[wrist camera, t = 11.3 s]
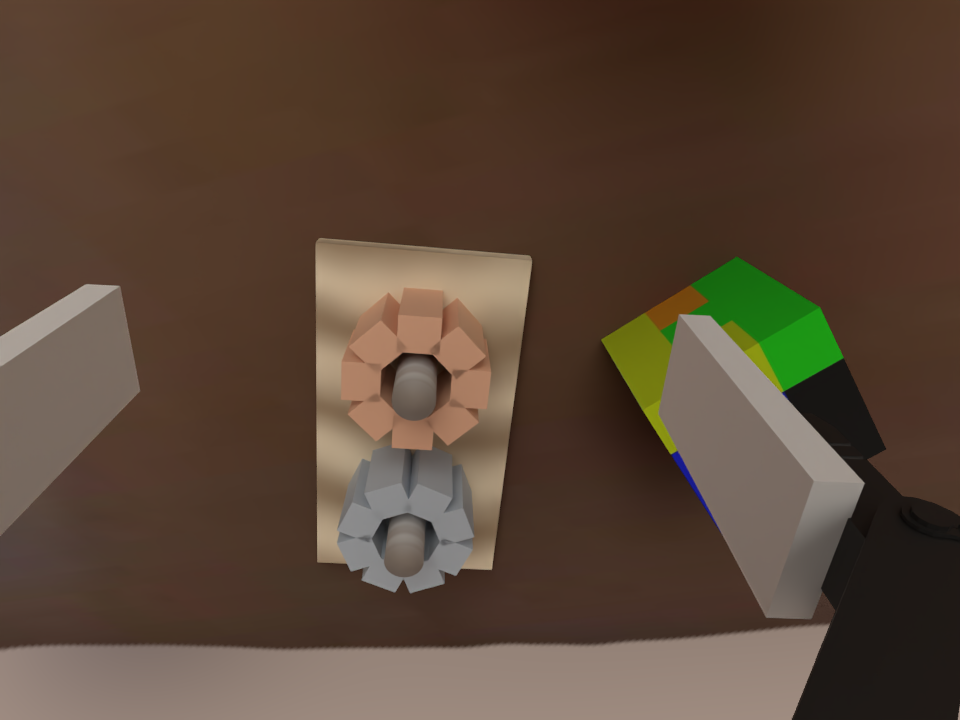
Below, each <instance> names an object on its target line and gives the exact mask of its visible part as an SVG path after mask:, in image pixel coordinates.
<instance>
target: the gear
mask: <svg viewBox="0 0 960 720" xmlns="http://www.w3.org/2000/svg"><path fill="white" fill-rule="evenodd" d="M407 512H408V513H410V514H413V515H415V516H418V517H420V518H423V519H425V520H426V526H425V546H424V564H423V567H422V569H421V570H420V571H419V572H418V573H417V574H415V575H413V576H410V577H398V576H395V575H393V574H391V573H390V572H389V571H388V570H387V569H386V567H385V565H384V558H385V550H386V543H387V535H388V527H389V520H390V517H393V516H397V515H400V514H404V513H407ZM337 531H339V537H338V541H337V545H338V547H339V549H340V551H341V553H342V555H343V557H344V559H345V561H346V563H347V565H348V567H349V569H350V571H354V570H358V569H361V568H364V569H363V575H362V581H365V582H368V583H370V584H373V585H376V586H379V587H381V588H384V589H387V590H390V591H392V592H396V590H397V588H398V587H399V585H400V584H401V582H402V580H403V579H404V581H405V583H406V585H407V587H408V590H409V592H410V593H412V592H416V591H420V590H423V589H427V588H431V587H434V586H438V585H442V584H444V582H445V572H447V573H450V574H452V575H455V576H456V575H457V574H458V572H459V570H460V569H461V567H462V566H463V564H464V563H465V561H466V560H467V558H468V557H469V555H470V553H471V552H472V550H473V541H472V538H473V537H474V522H473V505H472V491H471V488H470V485H469V483H468V480H467V477H466V475H465V472H464V469H463V467H462V464H460V465H456V466H453V467H452V455H451V454H449V453H447V452H444V451H442V450H440V449H437V448H435V447H433V446H432V450H418V449H416V451H415V453H414V454H413V456H412V454H411V451H410V449H401V448H392V445H389V446H386V447H382V448H379V449H375V450H373V452H372V457H371V462H370V461H367V460H365V459H362V460H361V462H360V464H359V466H358V467H357V469H356V471H355V473H354V475H353V477H352V479H351V481H350V482H349V484H348V488H347V492H346V496H345V500H344V504H343V508H342V512H341V516H340V520H339V524H338V529H337Z"/></svg>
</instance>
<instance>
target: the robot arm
mask: <svg viewBox="0 0 960 720" xmlns="http://www.w3.org/2000/svg"><path fill="white" fill-rule="evenodd" d="M139 391H140V388H139V383H138V377H137V372H136V367H135V362H134V356H133V351H132V346H131V341H130V336H129V330H128V325H127V320H126V315H125V310H124V304H123V299H122V294H121V289H120V286H110V285H91V284H86V285H84V286H82V287H81V288H79V289H78V290H76V291H74V292H73V293H71V294H69V295H68V296H66V297H64V298H63V299H61V300H60V301H58V302H56V303H55V304H53V305H51V306H50V307H48V308H46V309H45V310H43V311H41V312H40V313H38V314H37V315H35V316H33V317H32V318H30V319H28V320H27V321H25V322H23V323H22V324H20V325H19V326H17V327H15V328H14V329H12V330H10V331H9V332H7V333H5V334H4V335H2V336H1V337H0V536H1V535H2V534H3V533H4V532H5V531H6V530H7V528H8V527H9V526H10V525H11V524H12V523H13V522H14V521H15V520H16V519H17V518H18V517H19V516H20V515H21V514H22V513H23V512H24V511H25V510H26V509H27V508H28V507H29V506H30V505H31V504H32V503H33V501H34V500H35V499H36V498H37V497H38V496H39V495H40V494H41V493H42V492H43V491H44V490H45V489H46V488H47V487H48V486H49V485H50V484H51V483H52V482H53V481H54V480H55V479H56V478H57V477H58V476H59V474H60V473H61V472H62V471H63V470H64V469H65V468H66V467H67V466H68V465H69V464H70V463H71V462H72V461H73V460H74V459H75V458H76V457H77V456H78V455H79V454H80V453H81V452H82V451H83V450H84V449H85V447H86V446H87V445H88V444H89V443H90V442H91V441H92V440H93V439H94V438H95V437H96V436H97V435H98V434H99V433H100V432H101V431H102V430H103V429H104V428H105V427H106V426H107V425H108V424H109V423H110V422H111V420H112V419H113V418H114V417H115V416H116V415H117V414H118V413H119V412H120V411H121V410H122V409H123V408H124V407H125V406H126V405H127V404H128V403H129V402H130V401H131V400H132V399H133V398H134V397H135V396H136V395H137V394H138V392H139ZM658 414H659V416H660V418H661V420H662V422H663V424H664V425H665V427H666V429H667V431H668V433H669V435H670V437H671V439H672V441H673V442H674V444H675V446H676V448H677V450H678V452H679V454H680V456H681V458H682V459H683V461H684V463H685V465H686V467H687V469H688V471H689V473H690V475H691V476H692V478H693V480H694V482H695V484H696V486H697V488H698V490H699V492H700V493H701V495H702V497H703V499H704V501H705V503H706V505H707V507H708V509H709V510H710V512H711V514H712V516H713V518H714V520H715V522H716V524H717V526H718V527H719V529H720V531H721V533H722V535H723V537H724V539H725V541H726V543H727V544H728V546H729V548H730V550H731V552H732V554H733V556H734V558H735V560H736V561H737V563H738V565H739V567H740V569H741V571H742V573H743V575H744V577H745V578H746V580H747V582H748V584H749V586H750V588H751V590H752V592H753V594H754V595H755V597H756V599H757V601H758V603H759V605H760V607H761V609H762V611H763V612H764V614H765V616H766V618H793V619H812V616H813V614H814V611H815V609H816V606H817V604H818V601H819V599H820V596H821V593H822V591H823V592H824V594H825V595H826V597H827V598H828V600H829V601H830V603H831V604H832V606H833V607H834V609H835V610H836V611H835V614H834V616H833V619H832V621H831V624H830V626H829V628H828V631H827V633H826V636H825V638H824V641H823V643H822V645H821V648H820V650H819V653H818V655H817V658H816V661H815V663H814V666H813V668H812V671H811V673H810V676H809V678H808V681H807V683H806V686H805V688H804V691H803V693H802V696H801V698H800V701H799V703H798V706H797V708H796V711H795V713H794V715H793V718H792V720H958V713H959V706H960V516H958V515H957V514H955V513H954V512H952V511H950V510H948V509H946V508H943V507H941V506H939V505H937V504H935V503H932V502H928V501H925V500H921V499H918V498H913V497H904V496H902V495H901V494H900V493H899V492H898V491H897V490H896V489H895V488H894V487H893V486H892V485H891V484H890V483H889V482H888V481H887V480H886V479H885V478H884V477H883V476H882V475H881V474H880V473H879V472H878V471H877V470H876V469H875V468H874V467H873V466H872V465H871V464H870V463H869V461H868V460H864V459H863V455H862V454H861V453H860V452H859V451H858V450H857V449H856V448H855V447H854V446H851V443H850V442H849V441H848V440H847V439H846V438H845V437H844V436H843V435H842V434H841V433H840V432H839V431H838V430H837V429H836V428H835V427H833V426H832V425H830V424H828V423H827V422H825V421H823V420H822V419H820V418H818V417H817V416H815V415H813V414H812V413H799V411H798V410H797V409H796V408H795V407H794V406H793V405H792V404H791V403H790V402H789V401H788V400H787V398H786V397H785V396H784V395H783V394H782V393H781V392H780V391H779V390H778V389H777V388H776V387H775V385H774V384H773V383H772V382H771V381H770V380H769V379H768V378H767V377H766V376H765V375H764V374H763V372H762V371H761V370H760V369H759V368H758V367H757V366H756V365H755V364H754V363H753V362H752V361H751V359H750V358H749V357H748V356H747V355H746V354H745V353H744V352H743V351H742V350H741V349H740V347H739V346H738V345H737V344H736V343H735V342H734V341H733V340H732V339H731V338H730V337H729V336H728V334H727V333H726V332H725V331H724V330H723V329H722V328H721V327H720V326H719V325H718V324H717V323H716V321H715V320H714V319H713V318H712V317H711V316H705V315H685V314H679V316H678V321H677V326H676V330H675V335H674V340H673V345H672V350H671V354H670V359H669V364H668V369H667V373H666V378H665V383H664V388H663V393H662V397H661V402H660V407H659V412H658Z"/></svg>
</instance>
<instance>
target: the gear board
mask: <svg viewBox="0 0 960 720" xmlns="http://www.w3.org/2000/svg"><path fill="white" fill-rule="evenodd" d="M531 267H532V259H531V257H530V256H529V255H517V254H505V253H493V252H481V251H469V250H457V249H445V248H433V247H421V246H409V245H397V244H385V243H373V242H361V241H349V240H337V239H325V238H319V239H318V240H317V242H316V399H317V562H322V563H345V564H347V563H346V561H345V559H344V557H343V555H342V553H341V551H340V549H339V547H338V545H337V541H338V537H339V531H337V529H338V524H339V520H340V516H341V512H342V508H343V504H344V500H345V496H346V492H347V488H348V484H349V482H350V481H351V479H352V477H353V475H354V473H355V471H356V469H357V467H358V466H359V464H360V462H361V460H362V459H365V460H367V461H370V462H371V457H372V452H373V450H375V449H379V448H382V447H386V446H389V445H392V430H390V431H389V432H388V433H386V434H385V435H384V436H383V437H381V438H380V439H379V440H377V441H375V440H374V439H373V438H372V437H371V436H370V435H369V434H368V433H367V432H366V431H365V430H364V429H362V428H361V427H360V426H359V425H358V424H357V423H356V422H355V421H354V420H353V419H352V418H351V417H350V416H349V415H348V411H349V408H350V404H351V401H352V400H341V364H342V359H343V356H344V354H345V351H346V348H347V346H348V343H349V340H350V338H351V335H352V332H353V330H354V329H355V328H356V326H357V323H358V320H359V318H360V316H361V315H362V314H363V313H364V312H366V311H367V310H368V309H369V308H370V307H372V306H373V305H374V304H375V303H376V302H377V301H379V300H380V299H381V298H382V297H383V296H385V295H386V294H387V293H388V292H389V293H390V294H391V295H392V296H393V297H394V299H395V300H396V301H397V302H398V303H399V304H401V299H402V294H403V290H404V287H405V288H417V289H430V290H442V291H443V309H444V308H445V307H446V306H448V305H449V304H450V303H451V302H453V301H454V300H455V299H456V298H458V299H459V300H460V301H461V302H462V303H463V305H464V306H465V307H466V308H467V309H468V310H469V311H470V312H471V314H472V315H473V316H474V317H475V318H476V319H477V320H478V321H479V323H480V324H481V325H482V330H483V337H484V339H486V340H487V346H488V353H489V360H490V367H491V379H490V387H489V396H488V405H487V409H478V418H479V423H478V424H476V425H475V426H474V427H472V428H471V429H470V430H468V431H467V432H466V433H464V434H463V435H462V436H460V437H459V438H458V439H456V440H455V441H454V442H452V443H451V444H450V445H447V444H446V443H445V442H444V441H443V440H442V439H441V438H440V437H439V436H438V435H437V434H436V433H435V432H434V431H433V444H432V446H433V447H435V448H437V449H440V450H442V451H444V452H447V453H449V454H451V455H452V467H453V466H456V465H460V464H462V467H463V469H464V472H465V475H466V477H467V480H468V483H469V485H470V488H471V491H472V505H473V522H474V537H473V538H472V541H473V550H472V552H471V553H470V555H469V557H468V558H467V560H466V561H465V563H464V564H463V566H462V567H461V569H483V570H492V564H493V557H494V549H495V541H496V534H497V526H498V518H499V511H500V503H501V496H502V488H503V480H504V473H505V465H506V457H507V450H508V442H509V435H510V427H511V419H512V412H513V404H514V396H515V389H516V381H517V373H518V366H519V358H520V351H521V343H522V335H523V328H524V320H525V312H526V305H527V297H528V290H529V282H530V274H531ZM390 364H391V365H392V366H393V367H394V368H395V369H396V370H397V371H396V376H395V382H394V388H393V393H392V406H393V409H394V411H395V412H396V413H397V414H398V415H399V416H400V417H402V418H404V419H406V420H411V421H418V420H422V419H424V418H426V417H428V416H429V415H430V414H431V413H432V412H433V410H434V408H435V406H436V389H437V375H438V374H440V373H441V372H442V371H443V370H445V369H446V368H445V367H444V366H443V365H442V364H441V363H440V362H439V361H438V360H437V359H436V357H435V356H434V355H431V354H417V353H402V354H401V355H399V356H398V357H397V358H396V359H394V360H393V361H392V362H391V363H390ZM410 451H411V454H412V456H413V454H414V453H415V451H416V449H410ZM425 526H426V520H425V519H423V518H420V517H418V516H415V515H413V514H410V513H408V512H407V513H404V514H400V515H397V516H393V517H390V520H389V527H388V535H387V543H386V550H385V558H384V565H385V567H386V569H387V570H388V571H389V572H390V573H391V574H393V575H395V576H398V577H410V576H413V575H415V574H417V573H418V572H419V571H420V570H421V569H422V567H423V564H424V546H425Z"/></svg>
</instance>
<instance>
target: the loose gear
mask: <svg viewBox="0 0 960 720" xmlns="http://www.w3.org/2000/svg"><path fill="white" fill-rule="evenodd" d="M402 353H417V354H431V355H434V356H435V357H436V359H437V360H438V361H439V362H440V363H441V364H442V365H443V366H444V367H445V368H446V369H445V370H443V371H442V372H441V373H440V374H438V375H437V389H436V406H435V408H434V410H433V412H432V413H431V414H430V415H429V416H428V417H426V418H424V419H422V420H418V421H411V420H406V419H404V418H402V417H400V416H399V415H398V414H397V413H396V412H395V411H394V409H393V406H392V393H393V388H394V382H395V376H396V371H397V370H396V369H395V368H394V367H393V366H392V365H391V364H390V363H391V362H392V361H393V360H394V359H396V358H397V357H398V356H399V355H401V354H402ZM490 379H491V367H490V360H489V353H488V346H487V340H486V339H484V337H483V330H482V325H481V324H480V323H479V321H478V320H477V319H476V318H475V317H474V316H473V315H472V314H471V312H470V311H469V310H468V309H467V308H466V307H465V306H464V305H463V303H462V302H461V301H460V300H459V299H458V298H456V299H455V300H454V301H453V302H451V303H450V304H449V305H448V306H446V307H445V308H444V309H443V291H442V290H430V289H417V288H405V287H404V290H403V294H402V299H401V304H399V303H398V302H397V301H396V300H395V299H394V297H393V296H392V295H391V294H390V293H389V292H388V293H387V294H386V295H385V296H383V297H382V298H381V299H380V300H379V301H377V302H376V303H375V304H374V305H373V306H372V307H370V308H369V309H368V310H367V311H366V312H364V313H363V314H362V315H361V316H360V318H359V320H358V323H357V326H356V328H355V329H354V330H353V332H352V335H351V338H350V340H349V343H348V346H347V348H346V351H345V354H344V356H343V359H342V364H341V400H352V401H351V404H350V408H349V411H348V415H349V416H350V417H351V418H352V419H353V420H354V421H355V422H356V423H357V424H358V425H359V426H360V427H361V428H362V429H364V430H365V431H366V432H367V433H368V434H369V435H370V436H371V437H372V438H373V439H374V440H375V441H377V440H379V439H380V438H381V437H383V436H384V435H385V434H386V433H388V432H389V431H390V430H392V448H401V449H418V450H432V444H433V431H434V432H435V433H436V434H437V435H438V436H439V437H440V438H441V439H442V440H443V441H444V442H445V443H446V444H447V445H450V444H451V443H452V442H454V441H455V440H456V439H458V438H459V437H460V436H462V435H463V434H464V433H466V432H467V431H468V430H470V429H471V428H472V427H474V426H475V425H476V424H478V423H479V418H478V409H487V405H488V396H489V387H490Z"/></svg>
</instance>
